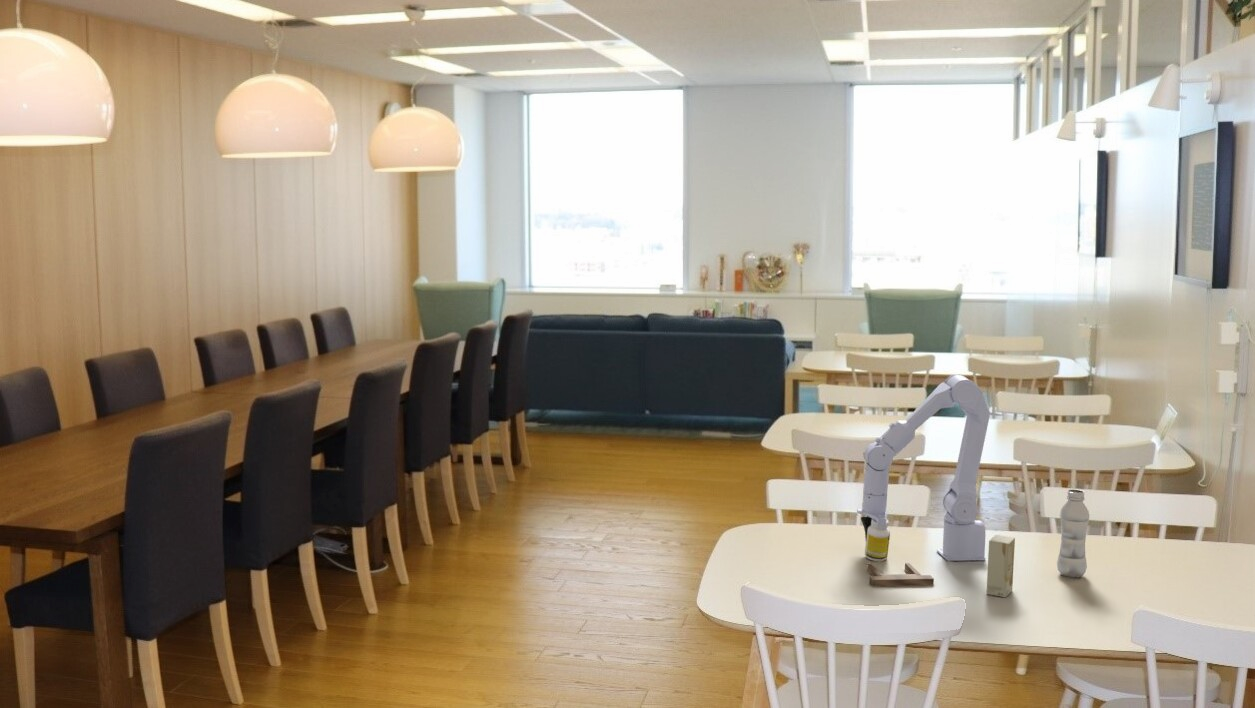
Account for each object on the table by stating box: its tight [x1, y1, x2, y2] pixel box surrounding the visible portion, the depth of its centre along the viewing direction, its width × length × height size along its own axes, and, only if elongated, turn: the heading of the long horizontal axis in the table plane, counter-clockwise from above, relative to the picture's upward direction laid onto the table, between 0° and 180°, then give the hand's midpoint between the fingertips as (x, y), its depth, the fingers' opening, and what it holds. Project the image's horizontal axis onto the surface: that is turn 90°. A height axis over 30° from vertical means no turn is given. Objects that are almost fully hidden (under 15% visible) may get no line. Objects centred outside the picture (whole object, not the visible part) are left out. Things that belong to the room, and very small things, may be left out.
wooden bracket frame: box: [866, 562, 935, 587], centre depth 268 cm, size 14×11×2 cm
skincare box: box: [985, 534, 1016, 598], centre depth 257 cm, size 6×4×12 cm
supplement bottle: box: [864, 518, 891, 562], centre depth 281 cm, size 5×5×10 cm
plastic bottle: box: [1056, 489, 1090, 578], centre depth 268 cm, size 6×7×20 cm
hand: (871, 546), depth 285 cm, fingers closed, pressing on supplement bottle
